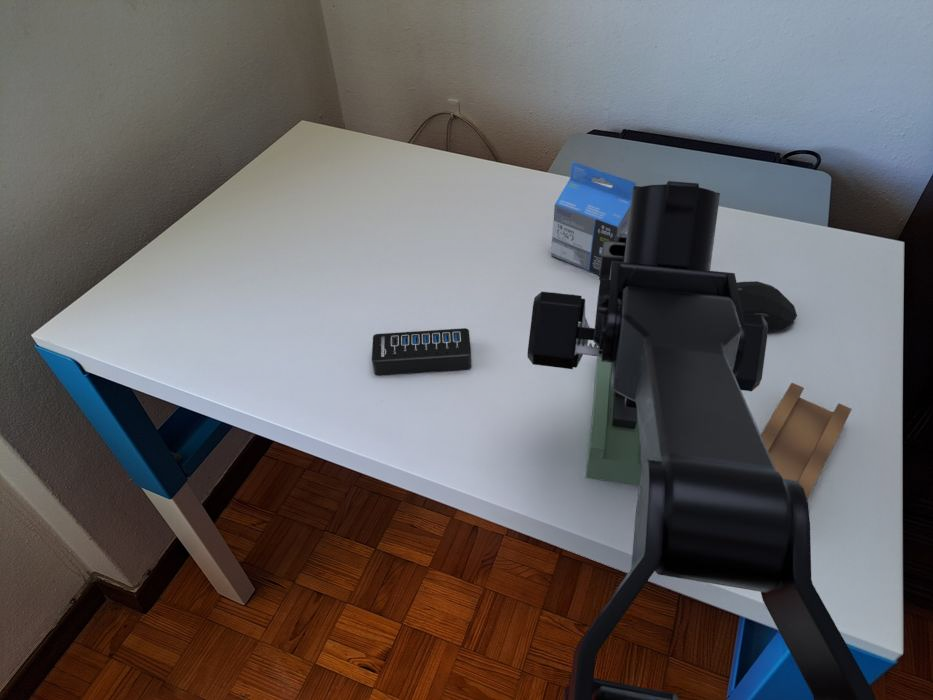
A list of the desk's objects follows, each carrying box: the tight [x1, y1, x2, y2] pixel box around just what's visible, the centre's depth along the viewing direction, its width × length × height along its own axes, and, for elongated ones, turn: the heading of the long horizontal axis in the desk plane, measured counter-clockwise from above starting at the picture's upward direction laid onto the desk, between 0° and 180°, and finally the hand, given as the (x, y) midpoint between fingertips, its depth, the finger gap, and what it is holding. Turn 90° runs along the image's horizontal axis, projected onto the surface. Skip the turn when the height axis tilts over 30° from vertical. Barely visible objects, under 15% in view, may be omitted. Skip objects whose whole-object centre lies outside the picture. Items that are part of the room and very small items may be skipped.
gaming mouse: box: [736, 280, 798, 333], centre depth 80 cm, size 6×15×4 cm, turn 84°
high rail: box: [585, 356, 642, 486], centre depth 70 cm, size 16×6×5 cm, turn 168°
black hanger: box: [612, 390, 637, 429], centre depth 65 cm, size 8×2×11 cm, turn 168°
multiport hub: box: [371, 327, 472, 376], centre depth 77 cm, size 4×11×2 cm, turn 93°
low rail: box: [760, 382, 853, 500], centre depth 66 cm, size 16×6×2 cm, turn 142°
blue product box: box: [550, 160, 637, 276], centre depth 85 cm, size 9×4×12 cm, turn 54°
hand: (635, 340), depth 65 cm, fingers open, 9 cm apart
